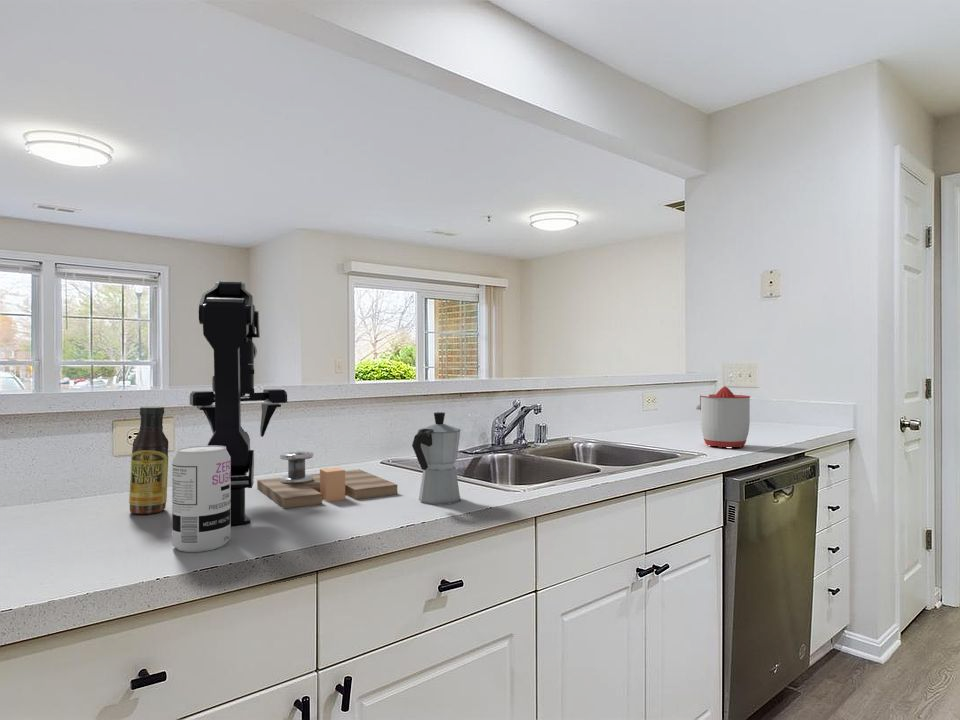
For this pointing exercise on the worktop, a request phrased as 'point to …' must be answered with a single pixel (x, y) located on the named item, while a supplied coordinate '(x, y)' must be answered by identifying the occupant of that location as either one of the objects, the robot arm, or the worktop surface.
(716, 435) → the citrus juicer
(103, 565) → the worktop surface
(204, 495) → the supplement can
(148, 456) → the sauce bottle
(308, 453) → the bobbin
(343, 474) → the block
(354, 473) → the board
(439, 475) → the coffee maker
